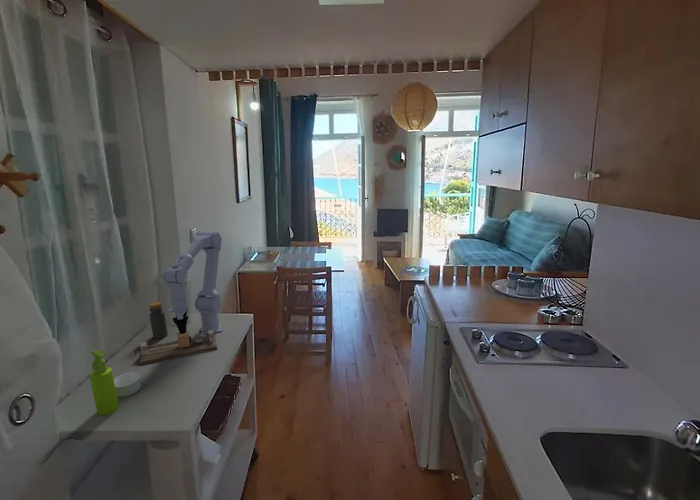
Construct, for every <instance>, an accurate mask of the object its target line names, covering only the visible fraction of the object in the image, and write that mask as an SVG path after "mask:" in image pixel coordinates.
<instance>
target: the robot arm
mask: <svg viewBox="0 0 700 500" xmlns="http://www.w3.org/2000/svg"><path fill="white" fill-rule="evenodd" d="M222 239H223V238H222V236H221V234H220V232H218V231H196V232H195V234H194V235H193V241H192V243H191V245H190V246H189V248H188V250H187V251H186V252H185V254H184V253H183V254H180V255H179V256H178V258H177V260H176V261H175V262H174V263H173V265H172V266H171V267H169V268H167V269H166V270H165V271H164V272H163V277H162V278H163V281H164V282H165V285H166V287H167V288H168V292H169V299H170V304H171V305H170V306H171V308H169V309H168V312H169V313H173V314H174V315H175V317H172V321H173V323H174V324H175V325H176V328H177V329H178V333H180V334H185V333H186V331H187V325H188V320H189V315H187V314H188V311H189V306H188V301H187V294H186V287H185V282H186V279H187V275H188V272H189V270H190V269H191V267H192V265H194V261H195V260H194V259H195V257H197V255H198V254H199V253H200V251H201V250H202V251H204V253H205V254H206V255H205V266H204V273H203V274H204V275H203V282H202V283H203V285H202V289H201V290H200V291H198V292H197V295H196V299H195V300H194V307H195V309H196V310H197V311H198V313H200V321H201V333H202V336H203V335H208V331H209V330H213V333H214V334H215V333H219V332H220V333H221V332H222V326H221V323H220V320H219V318H220V317H219V310H220V309H221V306H222V301H221V293H219V292H218V291H217V290H216V289H217V288H216V286H217V278H218V277H217V276H218V267H219V259H220V252H221V249H222Z"/></svg>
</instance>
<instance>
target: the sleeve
mask: <svg viewBox="0 0 700 500" xmlns="http://www.w3.org/2000/svg"><path fill="white" fill-rule="evenodd" d="M189 336H190V335H189V330H186V333H185V334H180V332H178V333H177V340H178V344H179V348H183V347H188V346H190V342H189Z"/></svg>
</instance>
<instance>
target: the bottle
mask: <svg viewBox="0 0 700 500" xmlns="http://www.w3.org/2000/svg"><path fill="white" fill-rule="evenodd" d="M163 308H164V306H163V305H162V302H161V301H153V302H151V303H149V312H150V313H149V321H150V327H151V332H152V337H153V339H157V340H159V339H163V338H166V337H167V336H168V335H169V334H168V325H167V321H166V315H165V314H166V313H165V311H163Z"/></svg>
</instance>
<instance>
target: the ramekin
mask: <svg viewBox="0 0 700 500" xmlns="http://www.w3.org/2000/svg"><path fill="white" fill-rule="evenodd" d="M114 383H115V388H116V393H117V398H118V397H119V398H124V397H125V398H126V397H129V396H132V395H134V394H136V393H137V392H138V391H140V389H141V387H142V383H141V374H140V373H138V372H136V371H135V372H133V371H132V372H126V373H123V374H120V375H118V376H116V377H115V378H114Z"/></svg>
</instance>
